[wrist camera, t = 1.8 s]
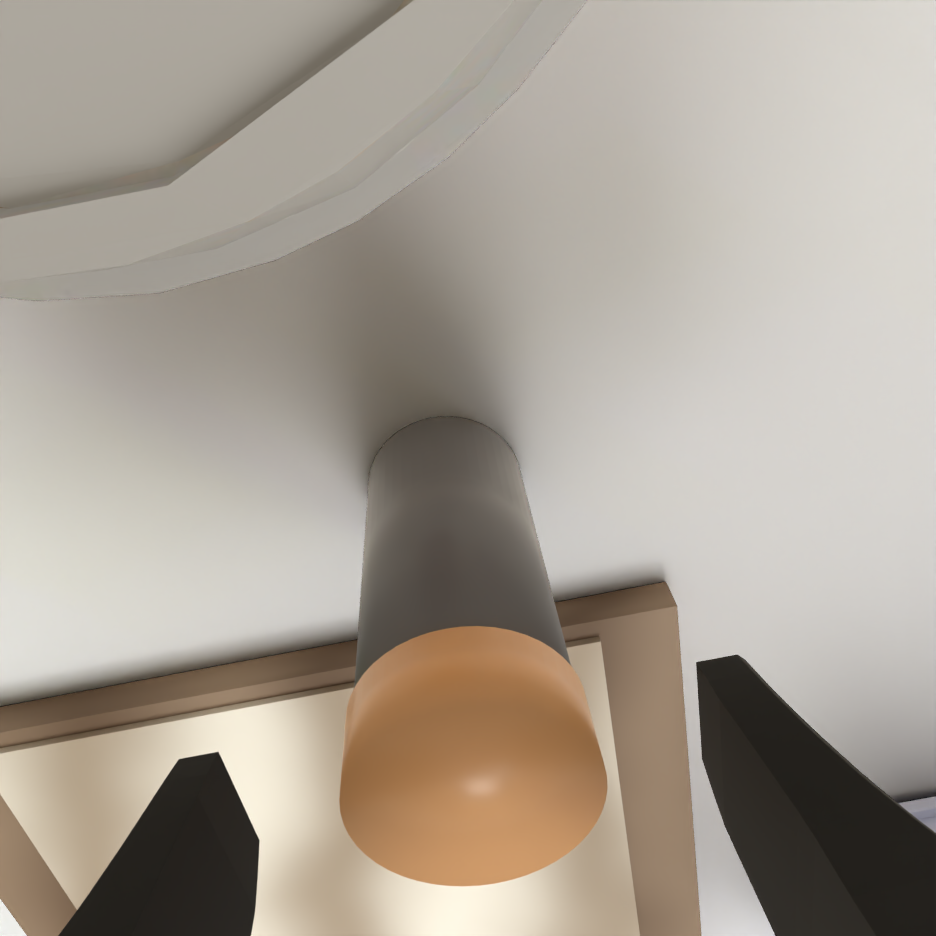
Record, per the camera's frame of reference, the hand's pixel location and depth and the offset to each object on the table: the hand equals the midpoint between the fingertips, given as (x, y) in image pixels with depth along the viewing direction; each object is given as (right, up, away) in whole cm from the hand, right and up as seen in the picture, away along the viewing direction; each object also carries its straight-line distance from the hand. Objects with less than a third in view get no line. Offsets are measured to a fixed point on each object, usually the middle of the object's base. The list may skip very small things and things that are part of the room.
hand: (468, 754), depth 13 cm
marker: (-1, +4, +7) cm, 8 cm away
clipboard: (-3, -7, +13) cm, 15 cm away
